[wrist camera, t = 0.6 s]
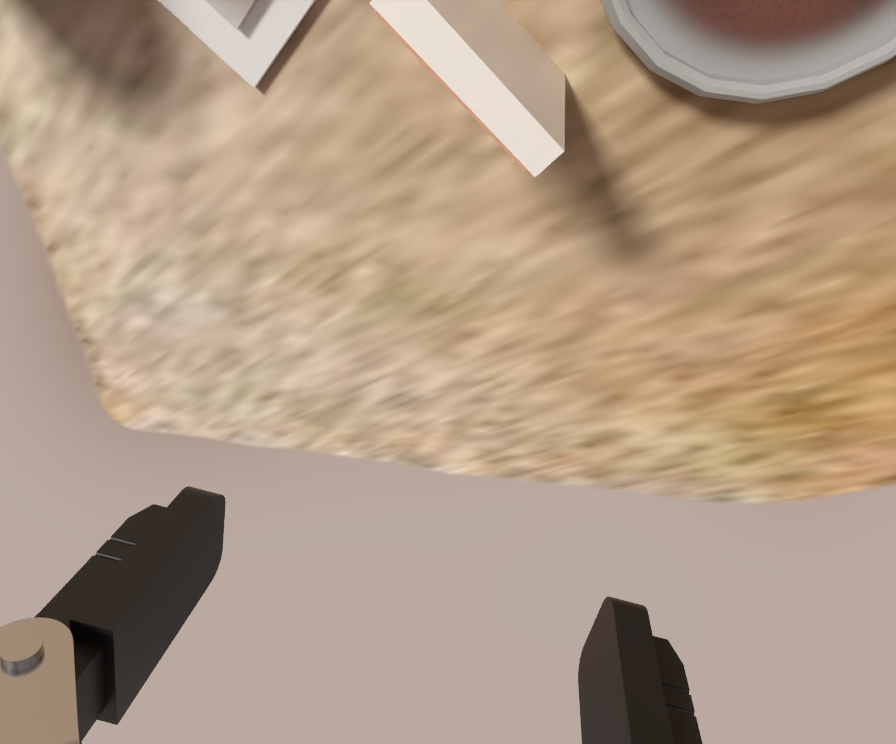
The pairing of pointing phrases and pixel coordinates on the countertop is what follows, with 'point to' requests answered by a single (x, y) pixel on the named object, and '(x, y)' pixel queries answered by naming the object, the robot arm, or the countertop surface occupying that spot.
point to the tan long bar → (233, 10)
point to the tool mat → (244, 32)
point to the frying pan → (757, 43)
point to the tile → (488, 71)
